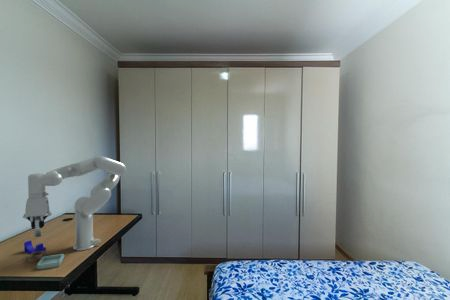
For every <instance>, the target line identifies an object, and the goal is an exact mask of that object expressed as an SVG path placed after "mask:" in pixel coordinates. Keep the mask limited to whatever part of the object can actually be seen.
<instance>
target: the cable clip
mask: <svg viewBox="0 0 450 300" xmlns="http://www.w3.org/2000/svg"><path fill="white" fill-rule="evenodd" d="M23 244H24V245H23V248H24V249H23V251H24V253H25V254H26V253H28V254H29V255H31V253H32V252H37V251H45V253H46V252H47V248H46V246H44V243H37V244H35V247H34V246H33V244H32V240H28V241H25V242H24V243H23Z"/></svg>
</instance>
